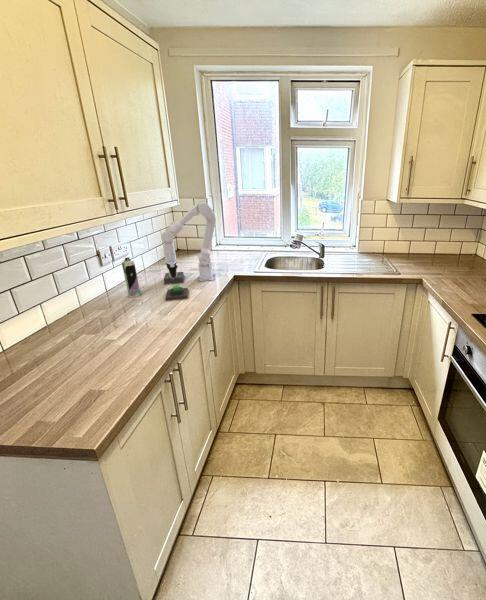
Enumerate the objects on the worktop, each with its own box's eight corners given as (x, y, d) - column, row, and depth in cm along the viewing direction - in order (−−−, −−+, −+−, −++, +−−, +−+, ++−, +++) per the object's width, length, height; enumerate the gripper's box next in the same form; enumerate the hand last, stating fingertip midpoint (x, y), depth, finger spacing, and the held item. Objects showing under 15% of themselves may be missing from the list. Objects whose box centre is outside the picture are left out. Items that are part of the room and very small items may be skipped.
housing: (168, 292, 167) (167, 286, 165) (188, 290, 169) (187, 284, 168) (166, 300, 156) (164, 294, 155) (187, 298, 159) (186, 292, 157)
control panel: (166, 277, 189) (165, 272, 187) (184, 276, 191) (183, 271, 190) (164, 285, 177) (163, 279, 176) (183, 283, 180) (182, 278, 178)
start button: (173, 289, 163) (172, 285, 162) (180, 288, 164) (180, 285, 163) (172, 291, 159) (172, 288, 159) (180, 290, 160) (179, 287, 160)
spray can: (135, 297, 159) (127, 259, 151) (126, 296, 160) (118, 258, 152) (142, 293, 164) (135, 256, 156) (133, 292, 165) (126, 255, 157)
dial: (169, 276, 182) (168, 269, 180) (177, 275, 184) (176, 269, 182) (169, 278, 178) (168, 272, 177) (177, 277, 180) (176, 271, 178)
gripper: (161, 250, 180) (165, 273, 185) (162, 256, 168) (166, 280, 173) (174, 249, 183) (177, 271, 188) (176, 255, 171) (180, 279, 176)
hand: (173, 276), depth 181 cm, fingers closed on dial, 4 cm apart
